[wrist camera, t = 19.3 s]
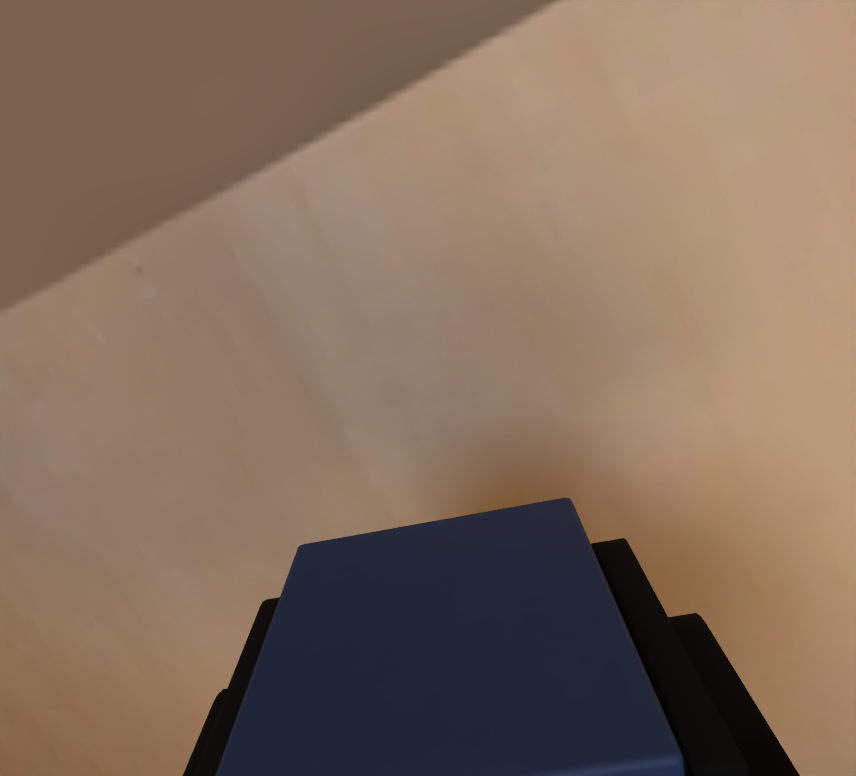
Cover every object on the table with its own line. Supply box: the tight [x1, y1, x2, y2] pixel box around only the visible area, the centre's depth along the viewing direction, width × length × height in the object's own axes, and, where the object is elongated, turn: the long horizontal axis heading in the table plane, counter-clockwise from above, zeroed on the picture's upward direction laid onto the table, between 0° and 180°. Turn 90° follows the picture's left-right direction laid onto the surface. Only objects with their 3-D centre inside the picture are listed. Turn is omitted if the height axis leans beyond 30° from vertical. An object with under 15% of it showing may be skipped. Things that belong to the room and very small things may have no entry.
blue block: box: [216, 498, 685, 776], centre depth 8 cm, size 4×4×4 cm
